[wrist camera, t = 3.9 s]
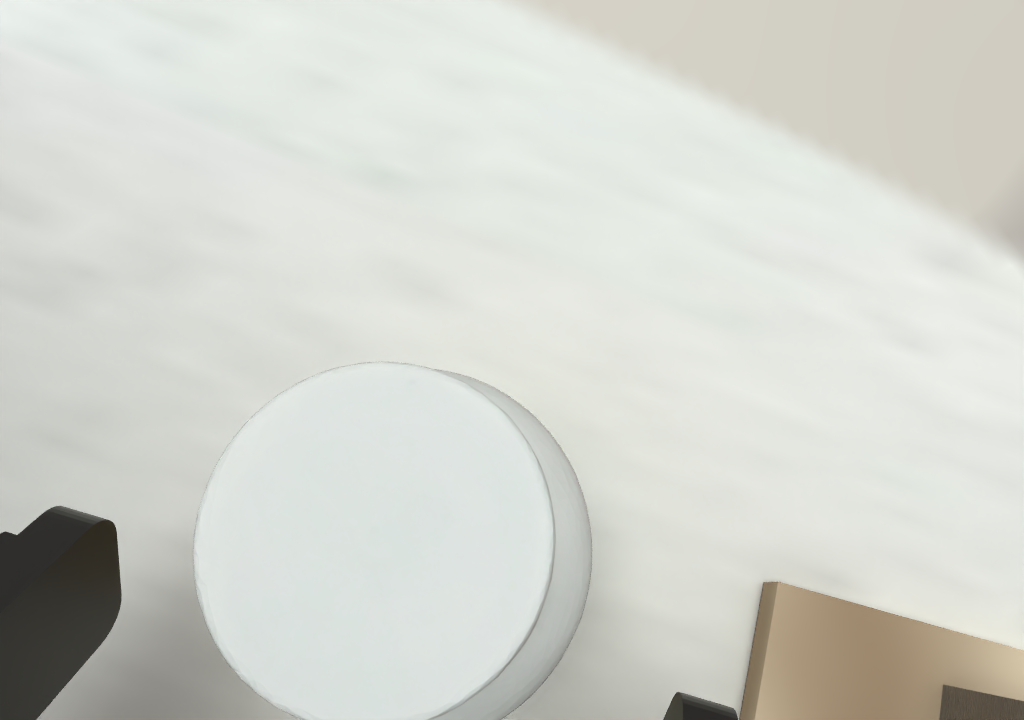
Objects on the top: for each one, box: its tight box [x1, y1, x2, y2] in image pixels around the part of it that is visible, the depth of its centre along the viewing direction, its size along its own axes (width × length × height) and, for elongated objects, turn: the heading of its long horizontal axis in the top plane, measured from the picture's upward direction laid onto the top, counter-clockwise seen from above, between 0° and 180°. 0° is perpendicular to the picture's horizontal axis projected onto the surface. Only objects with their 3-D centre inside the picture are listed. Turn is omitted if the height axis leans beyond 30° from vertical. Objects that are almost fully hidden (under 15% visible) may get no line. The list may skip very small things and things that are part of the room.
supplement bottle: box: [193, 362, 592, 720], centre depth 13 cm, size 5×5×10 cm
